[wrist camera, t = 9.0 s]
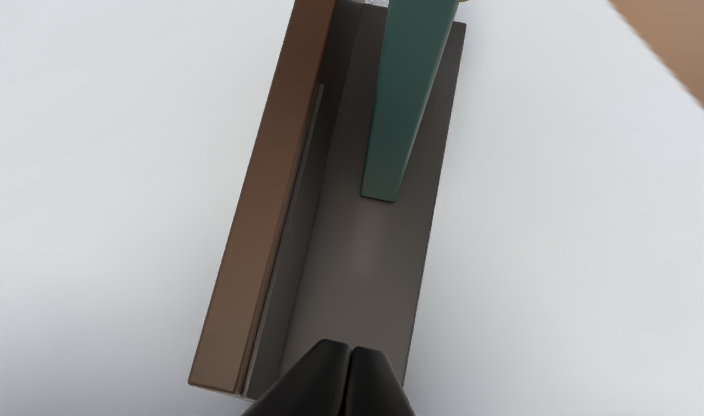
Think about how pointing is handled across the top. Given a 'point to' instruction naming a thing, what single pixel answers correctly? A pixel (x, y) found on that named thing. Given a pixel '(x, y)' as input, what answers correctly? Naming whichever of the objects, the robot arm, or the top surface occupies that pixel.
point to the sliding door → (403, 88)
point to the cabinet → (323, 211)
